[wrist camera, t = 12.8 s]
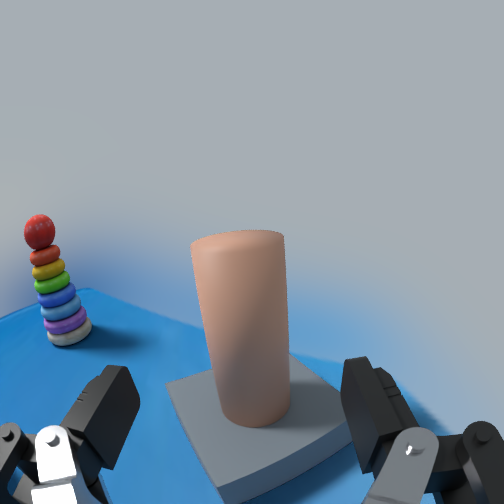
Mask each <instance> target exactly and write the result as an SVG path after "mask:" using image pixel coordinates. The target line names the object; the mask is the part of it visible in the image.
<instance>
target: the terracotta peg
mask: <svg viewBox="0 0 504 504" xmlns="http://www.w3.org/2000/svg"><path fill="white" fill-rule="evenodd" d="M190 247H191V254H192V261H193V267H194V274H195V280H196V285H197V292H198V297H199V303H200V309H201V314H202V320H203V325H204V330H205V336H206V341H207V346H208V350H209V355H210V360H211V365H212V369H213V374H214V378H215V383H216V387H217V392H218V396H219V400H220V404H221V408H222V412H223V414H224V415H225V417H226V418H227V419H228V420H230V421H231V422H233V423H235V424H237V425H240V426H244V427H263V426H267V425H270V424H272V423H275V422H276V421H278V420H279V419H281V418H282V417H283V416H284V415H285V414H286V413H287V411H288V409H289V406H290V367H289V334H288V307H287V285H286V266H285V249H284V236H283V235H282V234H281V233H278V232H274V231H268V230H241V231H232V232H225V233H219V234H214V235H211V236H207V237H204V238H201V239H198V240H196V241H195V242H193V243H192V244H191V246H190Z"/></svg>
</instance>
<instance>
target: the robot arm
mask: <svg viewBox="0 0 504 504" xmlns="http://www.w3.org/2000/svg"><path fill="white" fill-rule="evenodd" d="M340 395H341V403H342V407H343V410H344V413H345V417H346V420H347V423H348V426H349V430H350V433H351V436H352V440H353V443H354V446H355V450H356V453H357V457H358V460H359V463H360V467H361V470H362V474H366V473H370V472H373V475H374V478H375V480H374V482H373V484H372V485H371V487H370V489H369V491H368V493H367V494H366V496H365V498H364V500H363V501H362V503H361V504H420V501H421V499H422V496H423V494H426V493H433V496H434V499H435V502H436V504H504V440H503V439H502V437H501V436H500V434H499V432H498V430H497V429H496V427H495V426H493V425H492V424H490V423H488V422H485V421H477V422H474V423H472V424H470V425H469V426H468V427H467V428H466V429H465V431H464V432H463V434H458V435H449V436H436V435H435V434H434V433H433V432H432V431H430V430H428V429H426V428H421V427H420V426H419V425H418V423H417V421H416V419H415V418H414V416H413V414H412V412H411V410H410V408H409V406H408V405H407V403H406V401H405V399H404V397H403V396H402V395H401V392H400V390H399V388H398V387H397V385H396V383H395V381H394V380H393V378H392V376H391V375H390V374H389V373H387V372H386V371H385V370H383V369H382V368H381V367H380V368H375V369H373V368H372V366H371V364H370V362H369V360H368V358H367V357H366V356H364V357H359V358H352V359H346V360H345V362H344V368H343V376H342V383H341V392H340ZM139 408H140V397H139V393H138V391H137V389H136V386H135V384H134V382H133V379H132V377H131V374H130V372H129V370H128V368H127V367H125V366H115V365H107V366H106V367H105V369H104V370H103V371H102V373H101V374H100V376H96V377H95V378H94V379H93V380H91V381H90V382H89V383H88V384H87V385H86V386H85V388H84V389H83V391H82V394H80V395H79V397H78V398H77V401H75V403H74V404H73V406H72V407H71V409H70V410H69V412H68V413H67V415H66V416H65V418H64V419H63V421H62V422H61V424H60V425H59V426H56V425H52V426H48V427H46V428H44V429H42V430H41V431H40V432H39V433H38V435H36V434H24V433H23V431H22V430H21V429H20V428H19V426H18V425H17V424H15V423H6V424H3V425H2V426H0V504H113V503H112V501H111V498H110V496H109V493H108V491H107V488H106V486H105V483H104V480H103V477H102V475H101V474H100V473H99V472H100V470H101V468H102V467H103V468H106V469H110V470H113V469H114V466H115V464H116V462H117V459H118V457H119V454H120V452H121V450H122V447H123V445H124V443H125V440H126V438H127V436H128V433H129V431H130V429H131V426H132V424H133V422H134V420H135V417H136V415H137V413H138V410H139ZM16 466H17V467H18V468H19V469H20V470H21V471H22V472H23V473H24V474H23V476H22V478H21V480H20V482H19V484H18V486H17V488H16V490H15V492H14V494H13V496H11V495H10V494H9V492H8V490H7V484H8V482H9V480H10V478H11V476H12V474H13V472H14V470H15V468H16Z"/></svg>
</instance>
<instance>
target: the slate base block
mask: <svg viewBox="0 0 504 504" xmlns="http://www.w3.org/2000/svg"><path fill="white" fill-rule="evenodd" d="M289 367H290V406H289V409H288V411H287V413H286V414H285V415H284V416H283V417H282V418H281V419H279V420H278V421H276V422H275V423H272V424H270V425H267V426H263V427H244V426H240V425H237V424H235V423H233V422H231V421H230V420H228V419H227V418H226V417H225V415H224V414H223V412H222V408H221V404H220V400H219V396H218V392H217V387H216V383H215V378H214V374H213V369H210V370H207V371H204V372H201V373H197V374H194V375H191V376H188V377H185V378H182V379H178V380H175V381H172V382H168V383H165V385H166V388H167V391H168V394H169V396H170V399H171V402H172V404H173V407H174V410H175V412H176V415H177V417H178V419H179V421H180V423H181V425H182V428H183V430H184V432H185V434H186V436H187V438H188V440H189V442H190V444H191V446H192V448H193V450H194V452H195V454H196V456H197V458H198V460H199V461H200V463H201V465H202V467H203V469H204V471H205V472H206V474H207V476H208V478H209V479H210V481H211V483H212V485H213V486H214V488H215V490H216V491H217V493H218V495H219V496H220V498H221V500H222V501H223V503H224V504H241V503H243V502H245V501H248V500H250V499H252V498H255V497H257V496H259V495H261V494H264V493H266V492H268V491H270V490H272V489H274V488H276V487H278V486H280V485H282V484H284V483H286V482H288V481H290V480H291V479H293V478H295V477H297V476H299V475H300V474H302V473H304V472H306V471H307V470H309V469H311V468H312V467H314V466H316V465H317V464H319V463H321V462H322V461H324V460H325V459H327V458H329V457H330V456H332V455H333V454H335V453H336V452H338V451H339V450H341V449H342V448H343V447H345V446H346V445H348V444H349V443H351V442H352V441H353V440H352V436H351V433H350V430H349V426H348V423H347V420H346V417H345V413H344V410H343V407H342V403H341V395H340V392H339V391H338V390H336V389H335V388H334V387H332V386H331V385H330V384H328V383H327V382H326V381H324V380H323V379H322V378H320V377H319V376H318V375H316V374H315V373H314V372H312V371H311V370H310V369H309V368H307V367H306V366H305V365H303V364H302V363H301V362H300V361H298V360H297V359H296V358H295V357H293V356H292V355H291V354H290V353H289Z"/></svg>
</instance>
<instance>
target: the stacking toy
mask: <svg viewBox="0 0 504 504" xmlns="http://www.w3.org/2000/svg"><path fill="white" fill-rule="evenodd" d="M24 237H25V240H26V242H27V244H28V245H29V246H30V247H31V248H32V249H36V250H35V251H33V252H32V253H31V255H30V261H31V263H32V264H33V265H35V267H34V268H33V271H32V275H33V277H34V278H35V279H36V281H35V285H34V286H35V289H36V291H37V292H38V293H39V294H38V301H39V303H40V304H41V305H42V306H41V314H42V316H43V317H44V318H45V319H44V326H45V328H46V330H47V331H48V332H47V335H48V338H49V340H50V341H51V342H52V343H53V344H55V345H60V346H65V345H70V344H74V343H77V342H79V341H81V340H82V339H84V338H85V337H86V336H87V335H88V334H89V332H90V331H91V328H92V324H91V321H90V319H89V318H88V317H87V314H86V310H85V308H84V307H83V306H81V300H80V297H79V296H78V295H77V294H75V293H76V289H75V286H74V285H73V284H72V283H70V282H69V281H70V276H69V274H68V272H66V271H64V269H65V263H64V261H63V260H62V259H60V258H59V256H60V249H59V247H58V246H56V245H51V244H52V242H53V240H54V237H55V226H54V224H53V222H52V220H51V219H50V218H49V217H47V216H45V215H35V216H33V217H32V218H30V219H29V220H28V222H27V223H26V225H25V229H24Z"/></svg>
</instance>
